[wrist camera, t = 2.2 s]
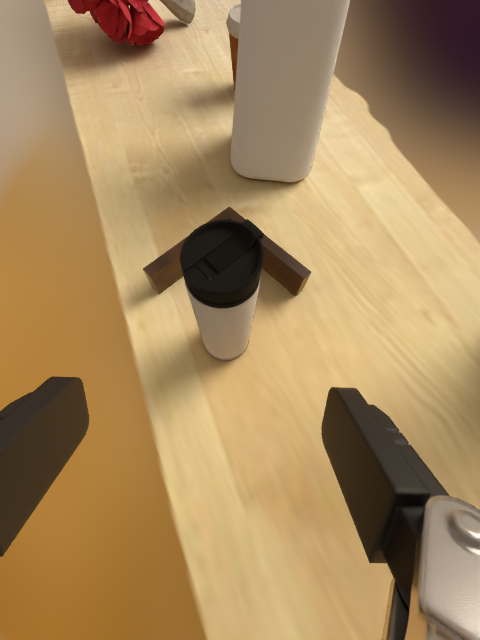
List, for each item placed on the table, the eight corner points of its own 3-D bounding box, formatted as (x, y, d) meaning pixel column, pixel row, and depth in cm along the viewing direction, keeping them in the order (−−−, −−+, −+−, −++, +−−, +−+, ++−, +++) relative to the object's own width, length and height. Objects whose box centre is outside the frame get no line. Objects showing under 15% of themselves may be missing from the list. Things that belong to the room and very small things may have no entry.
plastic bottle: (227, 179, 49) (224, -99, 23) (236, 127, 55) (241, -143, 29) (309, 188, 49) (397, -84, 23) (310, 134, 55) (380, -131, 29)
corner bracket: (229, 229, 45) (229, 206, 40) (302, 290, 41) (311, 271, 36) (152, 287, 40) (142, 268, 35) (226, 362, 36) (225, 352, 31)
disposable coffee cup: (220, 83, 61) (217, 6, 50) (257, 74, 63) (263, -2, 51) (238, 107, 58) (240, 30, 46) (277, 97, 59) (287, 21, 48)
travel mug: (259, 339, 37) (287, 250, 19) (223, 370, 36) (215, 305, 17) (230, 309, 39) (229, 199, 21) (194, 337, 37) (158, 245, 19)
